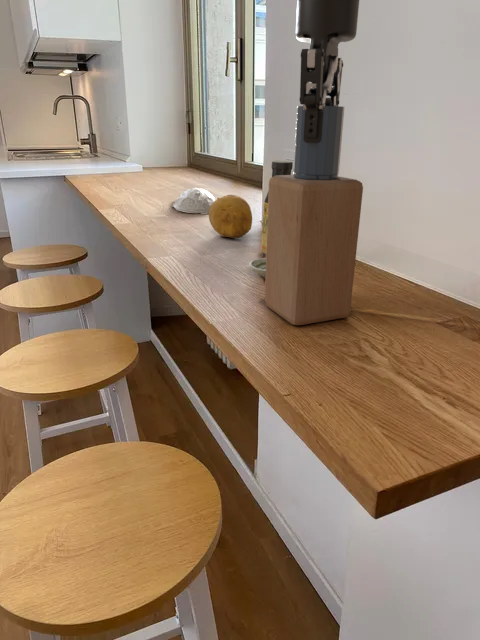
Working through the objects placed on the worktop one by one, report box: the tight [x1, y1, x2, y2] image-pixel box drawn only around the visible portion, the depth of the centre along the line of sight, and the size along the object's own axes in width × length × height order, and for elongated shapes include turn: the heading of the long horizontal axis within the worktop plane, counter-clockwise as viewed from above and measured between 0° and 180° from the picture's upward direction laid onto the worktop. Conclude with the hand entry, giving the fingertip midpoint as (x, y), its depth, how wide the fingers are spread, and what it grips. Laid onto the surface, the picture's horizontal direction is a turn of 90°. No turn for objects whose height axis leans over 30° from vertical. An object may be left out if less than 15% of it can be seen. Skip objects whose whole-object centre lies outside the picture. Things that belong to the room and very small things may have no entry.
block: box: [264, 174, 364, 326], centre depth 72 cm, size 10×10×20 cm
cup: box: [292, 105, 345, 180], centre depth 66 cm, size 6×6×9 cm
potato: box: [208, 194, 253, 240], centre depth 122 cm, size 10×12×10 cm
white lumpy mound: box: [172, 187, 217, 215], centre depth 161 cm, size 16×25×7 cm, turn 7°
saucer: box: [248, 257, 266, 279], centre depth 93 cm, size 10×10×2 cm
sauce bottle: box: [261, 159, 294, 258], centre depth 100 cm, size 7×6×20 cm
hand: (317, 141), depth 66 cm, fingers closed on cup, 6 cm apart
